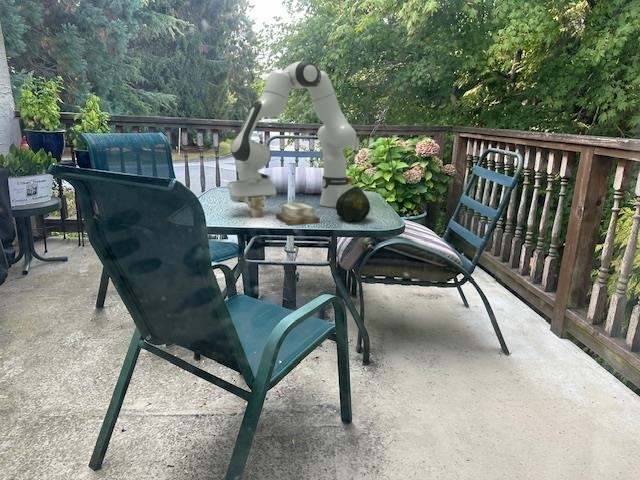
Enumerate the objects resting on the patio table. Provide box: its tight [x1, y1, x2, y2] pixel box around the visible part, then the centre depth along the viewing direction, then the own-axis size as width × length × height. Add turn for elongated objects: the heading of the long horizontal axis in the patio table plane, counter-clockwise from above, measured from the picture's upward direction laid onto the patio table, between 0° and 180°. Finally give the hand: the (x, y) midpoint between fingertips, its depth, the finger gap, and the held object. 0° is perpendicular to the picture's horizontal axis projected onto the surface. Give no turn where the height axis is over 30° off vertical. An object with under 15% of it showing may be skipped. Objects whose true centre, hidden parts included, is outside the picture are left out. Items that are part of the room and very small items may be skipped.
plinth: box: [275, 202, 321, 226], centre depth 187 cm, size 14×14×6 cm
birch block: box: [249, 197, 263, 219], centre depth 192 cm, size 4×4×8 cm
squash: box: [334, 185, 371, 223], centre depth 191 cm, size 14×15×15 cm
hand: (256, 206), depth 191 cm, fingers closed on birch block, 4 cm apart
